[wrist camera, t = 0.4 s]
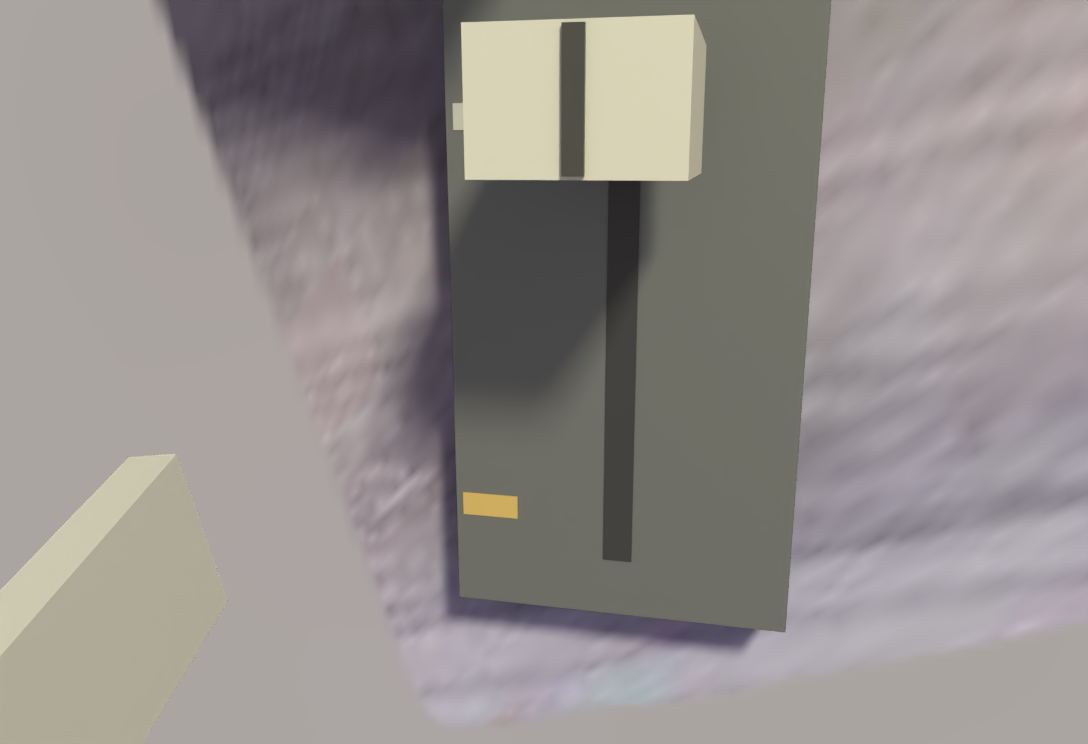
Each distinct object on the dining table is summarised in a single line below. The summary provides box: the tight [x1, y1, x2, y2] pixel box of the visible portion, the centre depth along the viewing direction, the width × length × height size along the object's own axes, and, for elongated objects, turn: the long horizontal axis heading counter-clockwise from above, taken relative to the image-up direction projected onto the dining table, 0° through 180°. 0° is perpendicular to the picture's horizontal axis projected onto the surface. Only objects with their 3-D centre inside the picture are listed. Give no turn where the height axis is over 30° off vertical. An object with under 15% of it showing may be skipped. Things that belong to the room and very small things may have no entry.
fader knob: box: [461, 14, 707, 181], centre depth 27 cm, size 4×6×10 cm, turn 90°
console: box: [442, 0, 831, 632], centre depth 36 cm, size 25×14×3 cm, turn 0°
